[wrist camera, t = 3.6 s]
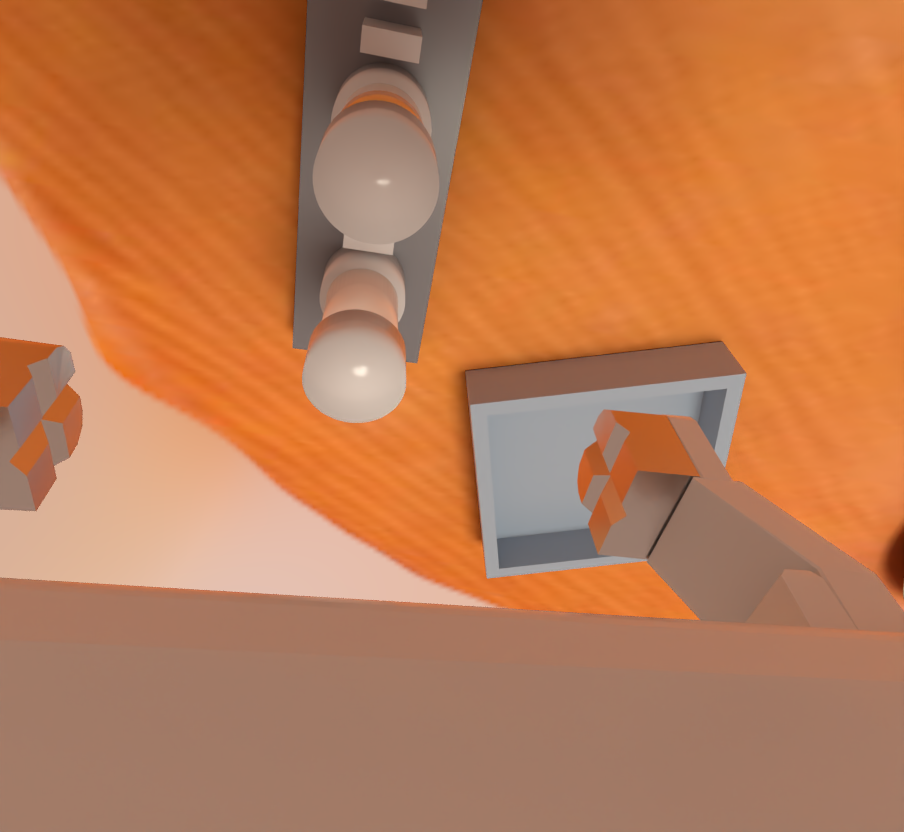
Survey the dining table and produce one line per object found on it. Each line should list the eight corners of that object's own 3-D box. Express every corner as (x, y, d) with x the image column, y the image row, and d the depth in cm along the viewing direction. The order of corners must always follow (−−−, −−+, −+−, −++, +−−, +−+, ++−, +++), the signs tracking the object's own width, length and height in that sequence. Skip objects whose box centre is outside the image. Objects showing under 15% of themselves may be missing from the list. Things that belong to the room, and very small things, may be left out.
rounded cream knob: (315, 247, 28) (290, 344, 22) (398, 237, 28) (397, 332, 22) (333, 319, 30) (314, 427, 24) (410, 310, 30) (412, 416, 24)
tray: (465, 370, 34) (469, 404, 32) (722, 341, 34) (746, 373, 32) (482, 541, 42) (486, 578, 40) (688, 518, 42) (705, 554, 40)
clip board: (326, -314, 19) (313, -353, 16) (523, -258, 20) (543, -285, 17) (296, 331, 32) (286, 371, 29) (416, 347, 33) (417, 386, 30)
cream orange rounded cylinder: (326, 68, 24) (298, 125, 17) (423, 56, 24) (431, 109, 17) (345, 168, 26) (327, 250, 20) (434, 158, 26) (445, 237, 20)
